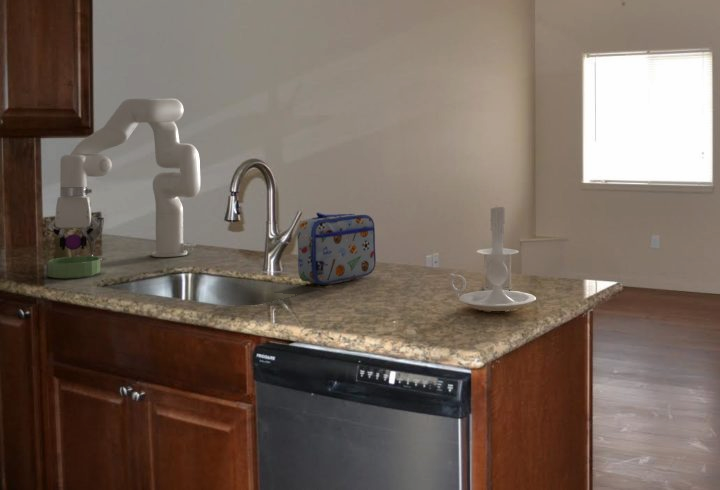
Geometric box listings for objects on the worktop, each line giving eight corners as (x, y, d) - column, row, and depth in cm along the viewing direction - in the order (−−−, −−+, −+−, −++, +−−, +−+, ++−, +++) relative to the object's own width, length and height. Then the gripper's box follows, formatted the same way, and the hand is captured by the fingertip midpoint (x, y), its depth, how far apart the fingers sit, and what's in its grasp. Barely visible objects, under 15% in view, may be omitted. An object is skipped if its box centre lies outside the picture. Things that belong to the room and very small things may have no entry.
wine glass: (108, 259, 289) (108, 218, 289) (87, 262, 283) (86, 220, 282) (96, 257, 294) (96, 216, 293) (74, 260, 287) (74, 218, 287)
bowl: (101, 269, 267) (101, 255, 267) (98, 277, 253) (98, 261, 253) (49, 272, 261) (49, 257, 261) (43, 280, 247) (43, 264, 247)
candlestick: (465, 297, 226) (466, 200, 226) (546, 305, 217) (547, 203, 216) (431, 312, 207) (431, 205, 207) (518, 321, 198) (519, 209, 197)
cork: (76, 265, 275) (76, 234, 275) (65, 268, 269) (64, 236, 269) (60, 265, 275) (60, 233, 275) (48, 268, 269) (48, 236, 269)
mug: (494, 295, 230) (495, 254, 230) (471, 291, 235) (471, 251, 235) (517, 288, 240) (517, 249, 240) (494, 285, 245) (494, 246, 245)
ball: (82, 248, 260) (82, 233, 260) (81, 250, 255) (81, 234, 255) (65, 249, 258) (65, 233, 258) (63, 251, 253) (63, 235, 253)
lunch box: (313, 289, 236) (313, 216, 236) (290, 285, 242) (290, 213, 242) (379, 276, 259) (379, 209, 258) (357, 273, 265) (357, 207, 264)
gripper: (103, 191, 263) (103, 246, 263) (44, 192, 256) (44, 248, 256) (102, 193, 256) (102, 249, 257) (41, 194, 249) (41, 251, 250)
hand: (73, 248), depth 257 cm, fingers closed on ball, 4 cm apart
